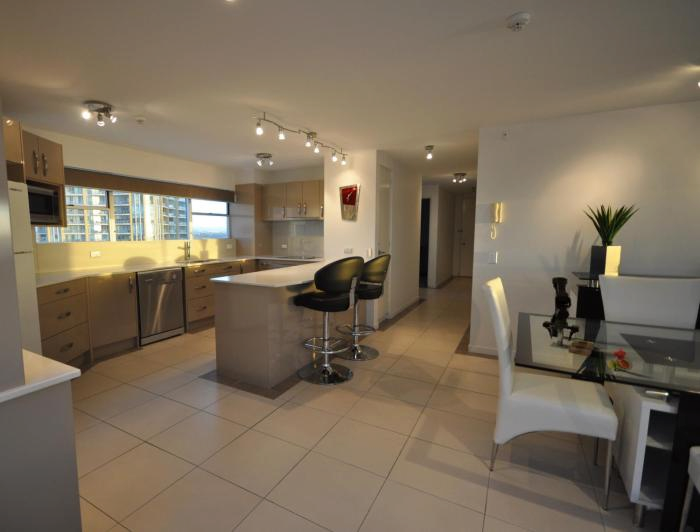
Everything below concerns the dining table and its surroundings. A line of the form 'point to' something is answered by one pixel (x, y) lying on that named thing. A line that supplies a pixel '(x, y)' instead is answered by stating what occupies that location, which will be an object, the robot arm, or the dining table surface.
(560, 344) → the peg
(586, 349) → the hole block
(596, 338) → the dining table surface
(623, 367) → the bird rattle
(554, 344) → the mat
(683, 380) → the dining table surface
